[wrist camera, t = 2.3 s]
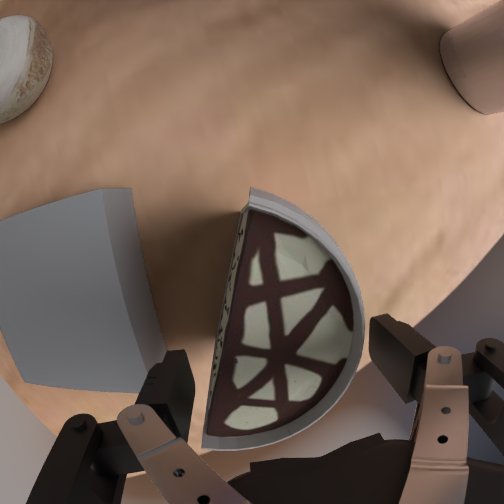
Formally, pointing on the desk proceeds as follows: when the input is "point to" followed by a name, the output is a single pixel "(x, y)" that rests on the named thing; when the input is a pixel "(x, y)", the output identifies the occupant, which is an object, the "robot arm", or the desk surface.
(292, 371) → the food container
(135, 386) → the grey block
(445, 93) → the desk surface
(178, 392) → the robot arm
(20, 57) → the decorative object
